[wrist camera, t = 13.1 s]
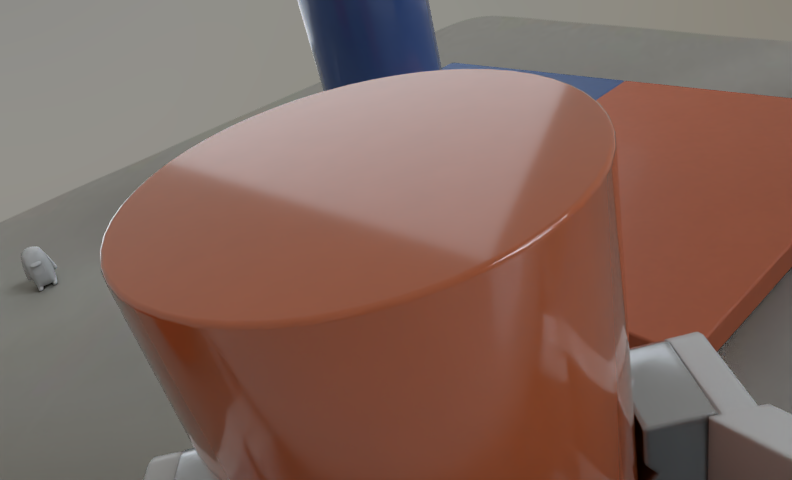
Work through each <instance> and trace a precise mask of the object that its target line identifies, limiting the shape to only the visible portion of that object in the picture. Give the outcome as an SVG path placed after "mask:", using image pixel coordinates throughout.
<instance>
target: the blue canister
mask: <svg viewBox="0 0 792 480" xmlns="http://www.w3.org/2000/svg"><path fill="white" fill-rule="evenodd" d="M297 1H298V4H299V7H300V11H301V14H302V18H303V21H304V25H305V28H306V31H307V35H308V39H309V42H310V45H311V49H312V52H313V56H314V59H315V62H316V66H317V70H318V73H319V76H320V80H321V83H322V87H323V90H324V91H327V90H331V89H334V88H338V87H342V86H346V85H350V84H354V83H359V82H363V81H368V80H372V79H378V78H383V77H389V76H394V75H401V74H409V73H416V72H425V71H436V70H442V68H441V62H440V57H439V52H438V47H437V42H436V37H435V32H434V27H433V22H432V16H431V11H430V6H429V1H428V0H297Z"/></svg>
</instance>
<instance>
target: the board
mask: <svg viewBox="0 0 792 480" xmlns="http://www.w3.org/2000/svg"><path fill="white" fill-rule="evenodd" d="M450 69H496V70H509V71H518V72H525V73H531V74H536V75H541V76H545V77H549V78H553V79H556V80H559V81H562V82H564V83H567V84H570V85H572V86H574V87H576V88H578V89H580V90H582V91H584V92H586V93H587V94H588V95H590V96H591V97H592V98H593V99H595V100H596V101H597V102H598V103H600V105H601V106H602V107H603V109H604V110H605V111H606V112H607V114H608V115H609V117H610V119H611V121H612V124H613V126H614V129H615V132H616V142H617V158H618V173H619V189H620V205H621V220H622V236H623V251H624V267H625V283H626V298H627V314H628V330H629V345H630V348H633V347H637V346H641V345H645V344H649V343H653V342H658V341H664V340H665V339H669V338H673V337H677V336H681V335H685V334H689V333H693V332H699V333H701V334H703V335H704V336H705V337H706V339H707V340H708V341H709V342H710V344H711V345H712V346H713V348H714V349H715V350H716V352H717V351H718V350H719V349H720V348H721V347H722V345H723V344H724V343H725V342H726V341H727V340H728V339H729V338H730V336H731V335H732V334H733V333H734V332H735V331H736V330H737V328H738V327H739V326H740V325H741V324H742V323H743V322H744V321H745V319H746V318H747V317H748V316H749V315H750V314H751V313H752V311H753V310H754V309H755V308H756V307H757V306H758V305H759V304H760V302H761V301H762V300H763V299H764V298H765V297H766V296H767V294H768V293H769V292H770V291H771V290H772V289H773V288H774V287H775V285H776V284H777V283H778V282H779V281H780V280H781V279H782V277H783V276H784V275H785V274H786V273H787V272H788V271H789V270H790V268H791V267H792V98H783V97H774V96H764V95H755V94H745V93H736V92H726V91H717V90H707V89H698V88H688V87H679V86H669V85H660V84H650V83H641V82H631V81H622V80H612V79H603V78H593V77H584V76H574V75H565V74H555V73H546V72H536V71H527V70H517V69H508V68H498V67H489V66H479V65H470V64H460V63H451V64H449V65H447V66H445V67H443V68H442V70H450Z"/></svg>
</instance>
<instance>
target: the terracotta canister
mask: <svg viewBox="0 0 792 480" xmlns="http://www.w3.org/2000/svg"><path fill="white" fill-rule="evenodd" d="M100 263H101V272H102V275H103V277H104V279H105V282H106V284H107V287H108V288H109V290H110V292H111V294H112V296H113V298H114V300H115V301H116V303H117V305H118V307H119V309H120V311H121V313H122V314H123V316H124V318H125V320H126V322H127V324H128V326H129V327H130V329H131V331H132V333H133V335H134V337H135V339H136V340H137V342H138V344H139V346H140V348H141V350H142V352H143V354H144V355H145V357H146V359H147V361H148V363H149V365H150V367H151V368H152V370H153V372H154V374H155V376H156V378H157V380H158V381H159V383H160V385H161V387H162V389H163V391H164V393H165V394H166V396H167V398H168V400H169V402H170V404H171V406H172V407H173V409H174V411H175V413H176V415H177V417H178V419H179V420H180V422H181V424H182V426H183V428H184V430H185V432H186V434H187V435H188V437H189V439H190V441H191V443H192V445H193V447H194V448H195V450H196V452H197V454H198V456H199V458H200V460H201V461H202V463H203V465H204V467H205V469H206V471H207V473H208V474H209V476H210V478H211V480H638V470H637V455H636V439H635V424H634V408H633V392H632V377H631V361H630V345H629V330H628V314H627V298H626V283H625V267H624V251H623V236H622V220H621V205H620V189H619V173H618V158H617V142H616V132H615V129H614V126H613V124H612V121H611V119H610V117H609V115H608V114H607V112H606V111H605V110H604V109H603V107H602V106H601V105H600V103H598V102H597V101H596V100H595V99H593V98H592V97H591V96H590V95H588V94H587V93H586V92H584V91H582V90H580V89H578V88H576V87H574V86H572V85H570V84H567V83H564V82H562V81H559V80H556V79H553V78H549V77H545V76H541V75H536V74H531V73H525V72H518V71H509V70H496V69H450V70H436V71H425V72H416V73H409V74H401V75H394V76H389V77H383V78H378V79H372V80H368V81H363V82H359V83H354V84H350V85H346V86H342V87H338V88H334V89H331V90H327V91H323V92H320V93H317V94H313V95H310V96H307V97H304V98H300V99H297V100H295V101H292V102H289V103H286V104H283V105H281V106H278V107H275V108H272V109H270V110H267V111H265V112H262V113H260V114H258V115H255V116H253V117H250V118H248V119H246V120H244V121H242V122H239V123H237V124H235V125H233V126H231V127H229V128H227V129H225V130H223V131H221V132H219V133H217V134H215V135H213V136H211V137H209V138H207V139H206V140H204V141H202V142H200V143H199V144H197V145H195V146H193V147H192V148H190V149H188V150H187V151H185V152H184V153H182V154H181V155H179V156H178V157H176V158H175V159H173V160H172V161H170V162H169V163H167V164H166V165H165V166H163V167H162V168H161V169H159V170H158V171H157V172H156V173H154V174H153V175H152V176H150V177H149V178H148V179H147V180H146V181H145V182H144V183H143V184H141V185H140V186H139V187H138V188H137V189H136V190H135V191H134V192H133V193H132V194H131V195H130V196H129V197H128V198H127V200H126V201H125V202H124V203H123V204H122V205H121V206H120V208H119V209H118V211H117V212H116V214H115V215H114V216H113V218H112V219H111V221H110V223H109V225H108V227H107V229H106V232H105V234H104V236H103V240H102V244H101V249H100Z"/></svg>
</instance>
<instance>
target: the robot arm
mask: <svg viewBox="0 0 792 480" xmlns="http://www.w3.org/2000/svg"><path fill="white" fill-rule="evenodd" d="M630 361H631V377H632V392H633V408H634V424H635V439H636V455H637V470H638V480H792V414H790V413H788V412H786V411H784V410H782V409H779V408H777V407H775V406H773V405H771V404H764V405H759V406H758V405H757V403H756V402H755V401H754V400H753V398H752V397H751V396H750V394H749V393H748V392H747V390H746V389H745V388H744V387H743V385H742V384H741V383H740V381H739V380H738V379H737V378H736V376H735V375H734V374H733V372H732V371H731V370H730V368H729V367H728V366H727V365H726V363H725V362H724V361H723V359H722V358H721V357H720V355H719V354H718V353H717V352H716V350H715V349H714V348H713V346H712V345H711V344H710V342H709V341H708V340H707V339H706V337H705V336H704V335H703V334H701V333H699V332H693V333H689V334H685V335H681V336H677V337H673V338H669V339H665V340H664V341H658V342H653V343H649V344H645V345H641V346H637V347H633V348H630ZM143 480H211V478H210V476H209V474H208V473H207V471H206V469H205V467H204V465H203V463H202V461H201V460H200V458H199V456H198V454H197V452H196V450H195V448H192V449H187V450H185V451H181V452H176V453H171V454H166V455H161V456H156V457H154V458H153V459H152V460H151V462H150V463H149V464H148V466H147V469H146V473H145V476H144V479H143Z"/></svg>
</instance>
